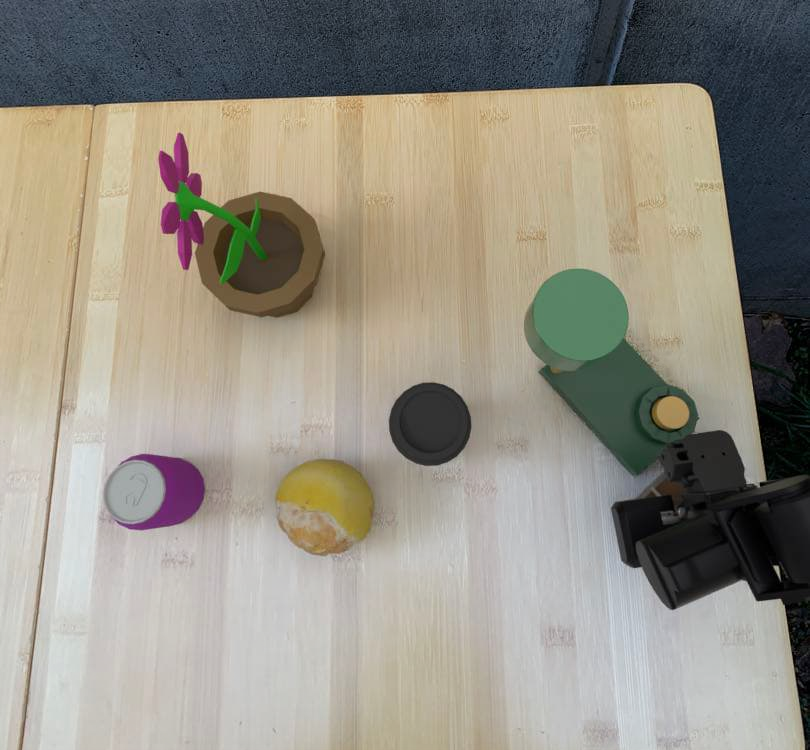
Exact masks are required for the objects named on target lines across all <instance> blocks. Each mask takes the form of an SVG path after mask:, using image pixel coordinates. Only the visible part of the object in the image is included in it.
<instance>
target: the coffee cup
mask: <svg viewBox="0 0 810 750" xmlns="http://www.w3.org/2000/svg"><path fill="white" fill-rule="evenodd" d="M472 427H473V426H472V416H471V412H470V410H469V407H468V405H467V403H466V401H465V400H464V399H463V397H462V396H461V395H460V394H459V393H458V392H457V391H456V390H455V389H454V388H451V387H449V386H447V384H446V385H445V384H443V383H440V382H439V383H438V382H436V381H435V382H434V381H432V382H431V381H430V382H428V381H427V382H421V383H418V384H415V385H412V386H410V387H409V388H406V390H404V391H403V392H402V393H401V394H400V395H399V396H398V397H397V398H396V399H395V402H394V403H393V405H392V406H391V409H390V413H389V417H388V432H389V435H390V439H391V441H392V443H393V445H394V446H395V448H396V450H397V451H398V452H399V453H400V454H401V456H403V457H404V458H405V459H407V460H408V461H410V462H412V463H413V464H416V465H421V466H425V467H435V466H440V465H444V464H447V463H450V462H451V461H453V460H454V459H455V458H457V457H459V455H460V454H461V453H462V452H463V451H464V449H465V448H466V446H467V444H468V442H469V440H470V437H471V433H472Z"/></svg>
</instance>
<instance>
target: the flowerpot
mask: <svg viewBox="0 0 810 750" xmlns="http://www.w3.org/2000/svg"><path fill="white" fill-rule="evenodd" d="M185 139H186V138H185V136H184V134H183V133H181V132H177V134H176V138H175V142H174V145H173V157H172V156H171V155H170V154H169V153H167V152H166V151H164V150H159V152H158V157H157V159H158V167H159V173H160V178H161V181H162V182H163V184H164V186H165V189H166V190H167V192H170V193H173V194H174V200H175V201H168V202H167V203H166V204H165V205H164V207H163V208H162V209H161V217H160V227H161V231H162V234H164V235H175V234H176V240H177V241H176V242H177V243H176V244H177V256H178V258H179V261H180V265H181V268H182V270H184V271H189V269H190V265H191V261H192V259H193V258H192V257H193V243H194V244H196V248H195V251H194V255H195V259H196V264H197V268H198V269H197V270H198V273H199V277H200V281H201V284H202V285H203V286H204V287H205V288H206V289H207V290H208V291H209V292H210V293H211V294H213V296H214V297H215V298H217V300H219V302H221V304H222V305H223V306H225V307H226V308H227V309H228V310H229V311H232V312H235V313H239V314H245V315H249V316H253V317H257V318H264V317H265V318H266V317H271V318H280V317H284V316H287V315H290V314H294V313H297V312H298V311H299V310H300V309H301V308H302V307H303V306H305V304H306V303H308V301H310V300H311V298H312V297H313V296H314V291H315V287H316V286H317V285H318V282H319V279H320V275H321V271H322V268H323V264H324V260H325V257H326V251H325V249H324V245H323V242H322V238H321V235H320V231H319V228H318V225H317V222H316V219H315V218H314V217H313V216H312V215H311V214H310V213H309V212H308V211H306V210H305V209H304V208H303V207H302V206H301V205H300V204H298V202H297V201H295V200H294V199H293V198H292V197H288V196H284V195H279V194H274V193H268V192H264V191H257V192H253V193H250V194H246V195H242V196H239V197H236V198H232V199H229V200H227V201H226V202H225V203H223V205H222V206H221V207H220V206H219V205H216V204H215V203H212V202H211V201H208V200H206V199H204V198H202V194H203V193H202V191H203V181H202V177H201V174H199V173H198V172H191V173H190V160H189V157H190V156H189V149H188V147H187V143H186V140H185ZM196 210H198V211H205V212H206V213H208V214H211V216H210V217H209V218H208V219H207V220H205V222H204V224H203V221H202V219H201V217H200V215H199V213H198V211H196Z"/></svg>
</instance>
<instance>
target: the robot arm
mask: <svg viewBox="0 0 810 750" xmlns="http://www.w3.org/2000/svg"><path fill="white" fill-rule="evenodd" d="M659 460H660V463H661V466H662V468H663V472H665V475H666V478H667V479H668V480H669V481H670V482H675V481H677V482H679V483H680V485H681V487H682V488H685V487H686V488H687V492H685V493H681V495H682V499H683V503H684V506H685V507H681V508H678V509H677V511H678V516H676V514H675V509H674V505H673V500H672V496H671V495H664V496H657V497H647V498H638V499H635V498H632V499H631V498H630V499H624V500H617V501H614V502H613V504H612V506H611V507H610V510H611V516H612V520H613V525H614V530H615V536H616V542H617V545H618V546H617V547H618V552H619V555H620V556H619V557H620V561H621V562H622V563H623V564H624V565H626V566H627V567H629V568H632V569H640V568H641V569H642V571H643V573H644V576H645V578H646V579H647V581H648V583H649V584H650V585H649V586H650V587H651V588H652V590H653V591H654V593H655V594H656V596H657V598H658V599H659V600H660V602H661V603H662V604H663V605H664V606H665V607H666V608H667V609H669V610H670V611H674V610H678V609H680V608H681V607H683V606H686V605H689V604H691V603H693V602H695V601H698V600H700V599H702V598H705V597H707V596H709V595H711V594H714V593H716V592H719V591H720V590H724V589H725V588H728V587H729V586H732V585H734V584H737V583H739V582H741V581H743V582H746V583H747V585H748V588H749V589H750V592H751V594H752V595H753V597H754V600H755V602H766V601H767V602H768V601H774V600H781V603H782V605H783V606H787V605H792V604H797V603H803V602H809V601H810V475H809V474H801V475H795V476H792V477H784V478H776V479H771V480H764V481H759V482H758V485H759V487H758V485H756V484H754V483H747V480H746V476H745V471H746V468H745V465H744V462H743V460H742V458H741V455H740V453H739V451H738V448H737V445H736V444H735V441H734V438H733V437H732V435H731V434H730V433H728V432H727V431H726V430H722V429H718V430H711V431H703V432H697V433H696V432H694V433H692V434H689V435H686V436H685V437H684V438H683V439H680V440H674V442H668V443H667V449H664V450H663V451H662V453H661V454H660V456H659ZM682 517H684V518H686V517H687V520H685V521H681V519H682ZM775 567H781V568H782V570H783V572H784V574H785V576H786V578H787V580H783V581H782V580H781V578H780V576H779V575H778V572H777V570H776V568H775Z"/></svg>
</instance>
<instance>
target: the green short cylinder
mask: <svg viewBox="0 0 810 750" xmlns="http://www.w3.org/2000/svg"><path fill="white" fill-rule="evenodd" d="M629 315H630V314H629V307H628V304H627V301H626V299H625V296H624V295H623V293H622V291H621V290H620V288H619V287H618V286H617V285H616V284H615V283H614V282H613V281H612V280H611V279H609V278H608V277H606V275H603V274H601V273H600V272H597V271H594V270H591V269H587V268H568V269H565V270H561V271H558V272H557V273H555V274H553V275H551V276H550V277H549V278H548V279H546V280H545V281H544V282H543V283H542V285H541V286H540V287H539V289H538V290H537V292H536V293H535V295H534V297H533V299H532V300H531V302H530V303H529V305H528V307H527V309H526V312H525V315H524V318H523V332H524V337H525V340H526V343H527V345H528V346H529V348H530V350H531V352H532V353H533V355H534V356H535V357H537V358H538V359H539V361H541V362H542V363H544V364H545V365H549V366H551V367H553V368H555V369H559V370H564V371H578V370H582V369H586V368H588V367H590V366H592V365H594V364H595V363H597V362H598V361H600V360H601V359H602V358H604V357H605V356H607V355H608V354H610V353H611V352H612V351H613V350H615V349H616V348H617V347H618V346H619V344H620V343H621V342H622V340H623V338H624V339H625V336H626V333H627V332H628V326H629V322H630V321H629V320H630V316H629Z"/></svg>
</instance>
